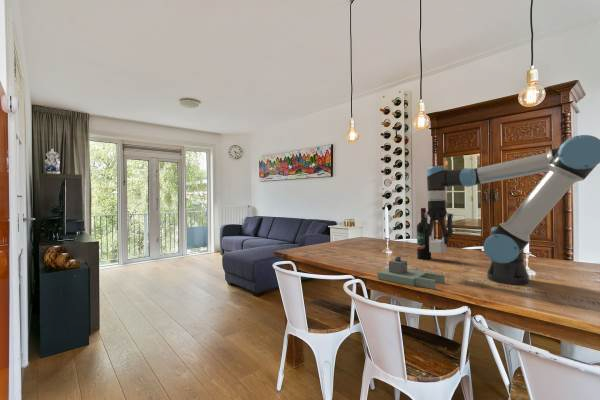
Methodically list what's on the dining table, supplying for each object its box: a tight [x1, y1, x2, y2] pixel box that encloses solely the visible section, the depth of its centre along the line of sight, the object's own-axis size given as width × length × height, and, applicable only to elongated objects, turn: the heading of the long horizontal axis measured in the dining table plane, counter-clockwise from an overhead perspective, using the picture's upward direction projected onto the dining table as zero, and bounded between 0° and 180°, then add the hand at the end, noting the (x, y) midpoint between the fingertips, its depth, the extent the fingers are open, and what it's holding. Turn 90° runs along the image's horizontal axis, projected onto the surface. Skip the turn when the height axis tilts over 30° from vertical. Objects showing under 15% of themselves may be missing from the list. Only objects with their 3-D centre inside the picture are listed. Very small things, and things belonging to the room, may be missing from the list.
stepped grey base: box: [377, 255, 446, 290], centre depth 134 cm, size 25×14×10 cm, turn 45°
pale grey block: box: [429, 238, 444, 254], centre depth 138 cm, size 5×7×5 cm
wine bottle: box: [416, 207, 432, 261], centre depth 177 cm, size 8×8×30 cm
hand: (437, 250), depth 138 cm, fingers closed on pale grey block, 5 cm apart
